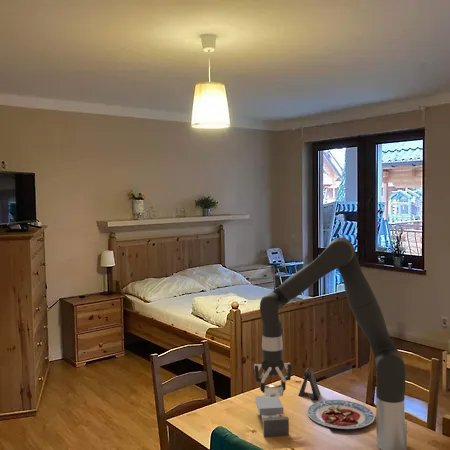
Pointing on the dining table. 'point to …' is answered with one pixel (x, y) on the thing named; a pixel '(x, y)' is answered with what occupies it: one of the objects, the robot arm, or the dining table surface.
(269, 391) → the roller
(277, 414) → the roller middle
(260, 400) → the slab
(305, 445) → the dining table surface
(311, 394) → the grey a-frame stand
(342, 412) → the ceramic plate
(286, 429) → the bar
